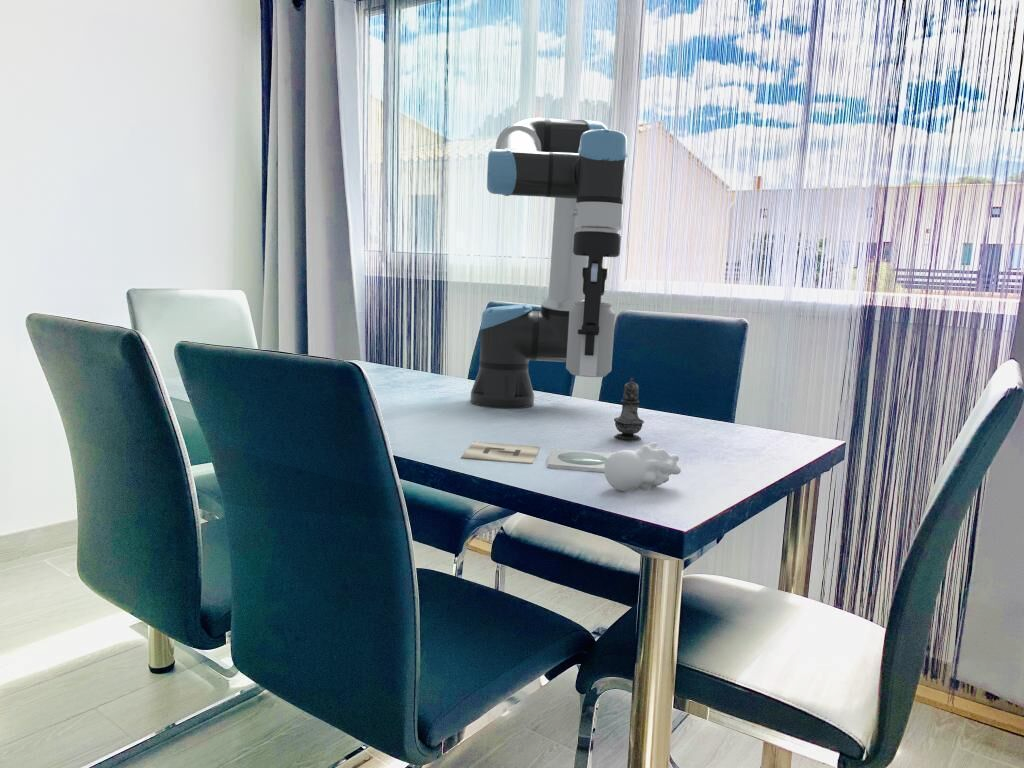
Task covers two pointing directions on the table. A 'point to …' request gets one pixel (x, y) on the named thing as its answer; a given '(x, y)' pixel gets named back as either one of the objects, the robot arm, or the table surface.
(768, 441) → the table surface
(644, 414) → the table surface
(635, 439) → the salt shaker
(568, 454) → the coaster
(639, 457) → the figurine
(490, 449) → the tile
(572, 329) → the can
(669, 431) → the table surface
